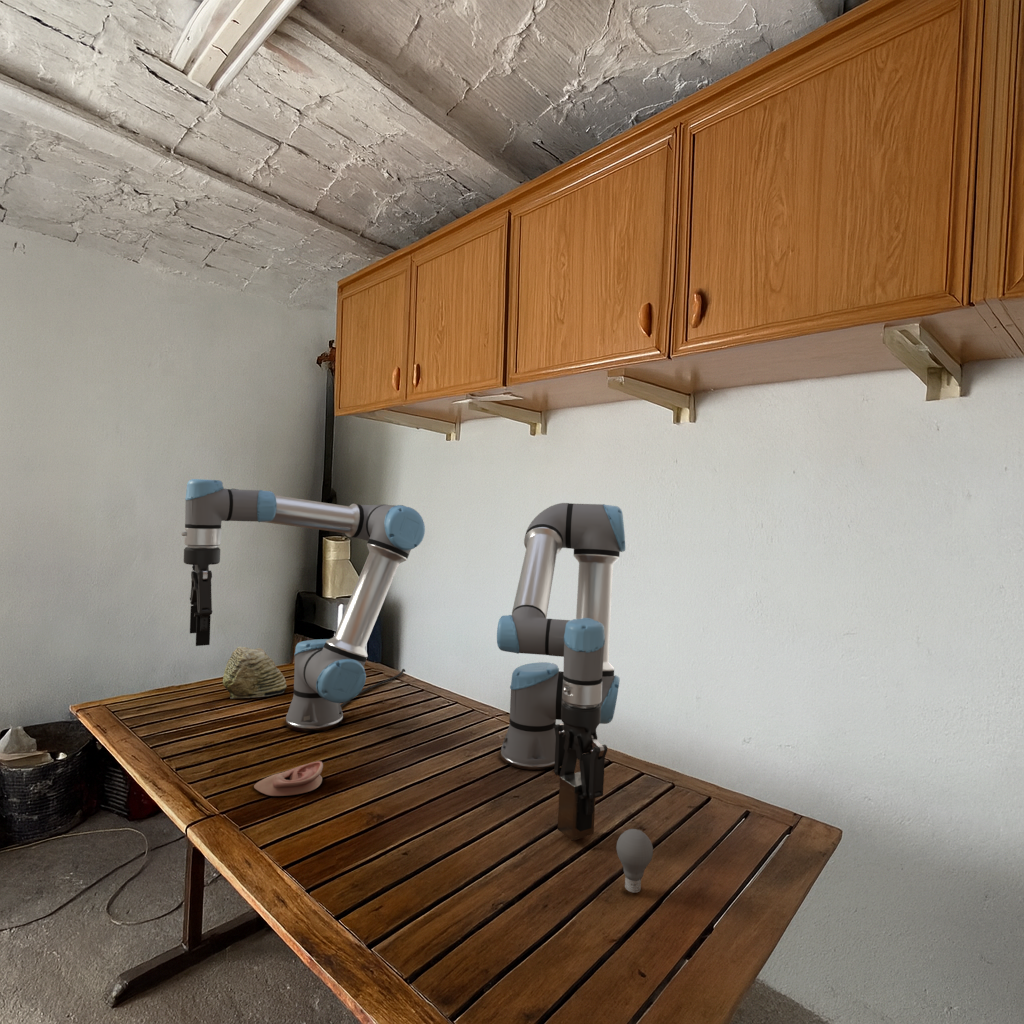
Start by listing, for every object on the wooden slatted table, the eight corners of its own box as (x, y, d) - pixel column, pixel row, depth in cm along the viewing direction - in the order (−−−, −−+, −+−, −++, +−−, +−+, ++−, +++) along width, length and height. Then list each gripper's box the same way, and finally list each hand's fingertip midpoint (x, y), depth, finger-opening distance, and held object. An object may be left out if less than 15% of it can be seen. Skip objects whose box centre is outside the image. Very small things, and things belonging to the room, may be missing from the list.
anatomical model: (246, 773, 134) (276, 753, 145) (245, 792, 134) (276, 770, 145) (303, 782, 131) (330, 760, 142) (302, 801, 131) (329, 777, 142)
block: (557, 829, 122) (559, 776, 122) (578, 822, 125) (581, 771, 125) (572, 841, 118) (574, 786, 118) (593, 834, 121) (596, 780, 121)
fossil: (218, 695, 195) (220, 647, 195) (278, 685, 208) (279, 640, 207) (228, 703, 189) (230, 653, 188) (289, 692, 201) (290, 645, 201)
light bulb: (610, 879, 108) (613, 822, 108) (644, 879, 109) (647, 822, 109) (619, 902, 102) (622, 840, 102) (655, 901, 103) (658, 840, 103)
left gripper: (179, 542, 154) (176, 629, 154) (189, 551, 133) (185, 652, 133) (213, 542, 158) (210, 627, 158) (228, 551, 136) (224, 649, 137)
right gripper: (538, 691, 126) (533, 806, 127) (595, 720, 111) (589, 850, 112) (569, 686, 130) (564, 797, 131) (627, 713, 115) (621, 839, 116)
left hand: (199, 638), depth 145 cm, fingers open, 13 cm apart
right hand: (575, 821), depth 121 cm, fingers closed on block, 5 cm apart
